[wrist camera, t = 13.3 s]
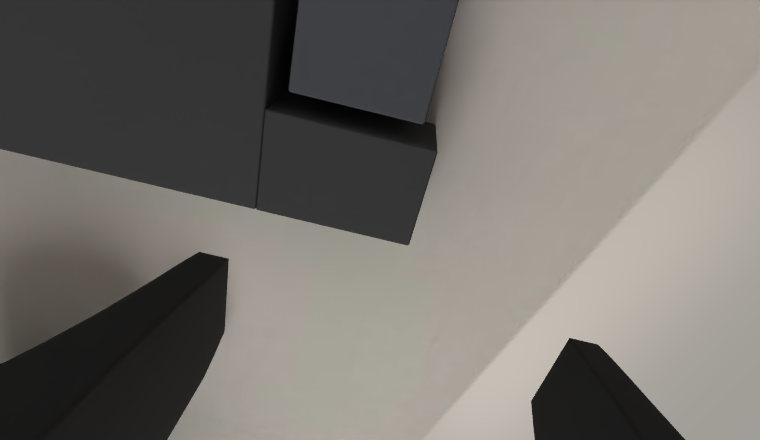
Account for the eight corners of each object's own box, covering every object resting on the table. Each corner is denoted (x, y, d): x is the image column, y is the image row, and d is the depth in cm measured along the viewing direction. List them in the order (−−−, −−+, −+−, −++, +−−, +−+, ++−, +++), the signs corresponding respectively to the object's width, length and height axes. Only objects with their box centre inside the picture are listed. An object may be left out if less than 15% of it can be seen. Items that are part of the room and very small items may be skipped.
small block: (460, -31, 15) (467, -31, 12) (423, 101, 17) (424, 125, 15) (327, -65, 15) (306, -73, 12) (308, 73, 17) (287, 92, 14)
